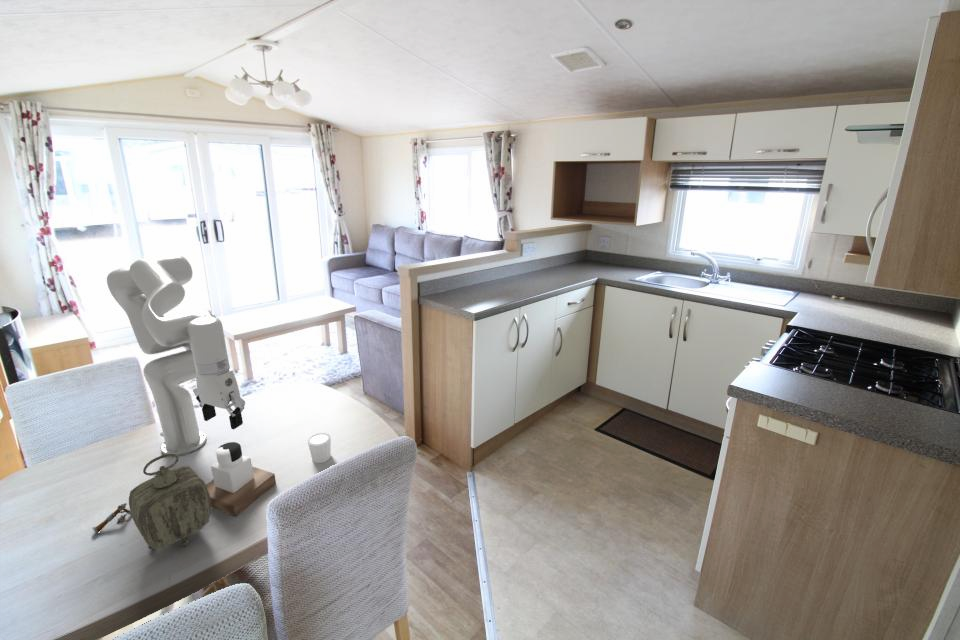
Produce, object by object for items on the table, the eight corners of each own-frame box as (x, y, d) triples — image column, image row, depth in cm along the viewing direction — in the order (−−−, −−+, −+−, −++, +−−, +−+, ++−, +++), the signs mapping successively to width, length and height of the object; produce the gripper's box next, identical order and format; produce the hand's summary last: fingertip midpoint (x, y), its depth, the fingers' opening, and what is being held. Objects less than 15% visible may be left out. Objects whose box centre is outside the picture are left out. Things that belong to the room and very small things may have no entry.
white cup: (325, 465, 139) (323, 446, 137) (305, 462, 141) (303, 443, 138) (336, 452, 146) (334, 434, 143) (317, 449, 147) (315, 431, 145)
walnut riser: (198, 502, 124) (195, 491, 122) (240, 471, 136) (238, 461, 135) (235, 516, 119) (233, 506, 118) (276, 483, 131) (274, 473, 130)
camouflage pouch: (206, 515, 119) (187, 436, 111) (220, 533, 114) (201, 450, 105) (141, 549, 108) (115, 464, 100) (154, 570, 103) (127, 482, 95)
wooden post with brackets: (137, 511, 119) (125, 503, 116) (107, 538, 114) (93, 530, 111) (134, 508, 120) (122, 500, 117) (104, 535, 115) (91, 527, 112)
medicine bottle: (236, 471, 131) (229, 436, 126) (254, 477, 128) (248, 442, 124) (214, 487, 124) (206, 451, 120) (233, 494, 122) (226, 457, 118)
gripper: (250, 365, 114) (259, 422, 120) (201, 353, 120) (212, 408, 126) (224, 377, 108) (236, 437, 114) (174, 364, 113) (187, 422, 119)
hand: (223, 422), depth 120 cm, fingers open, 9 cm apart
